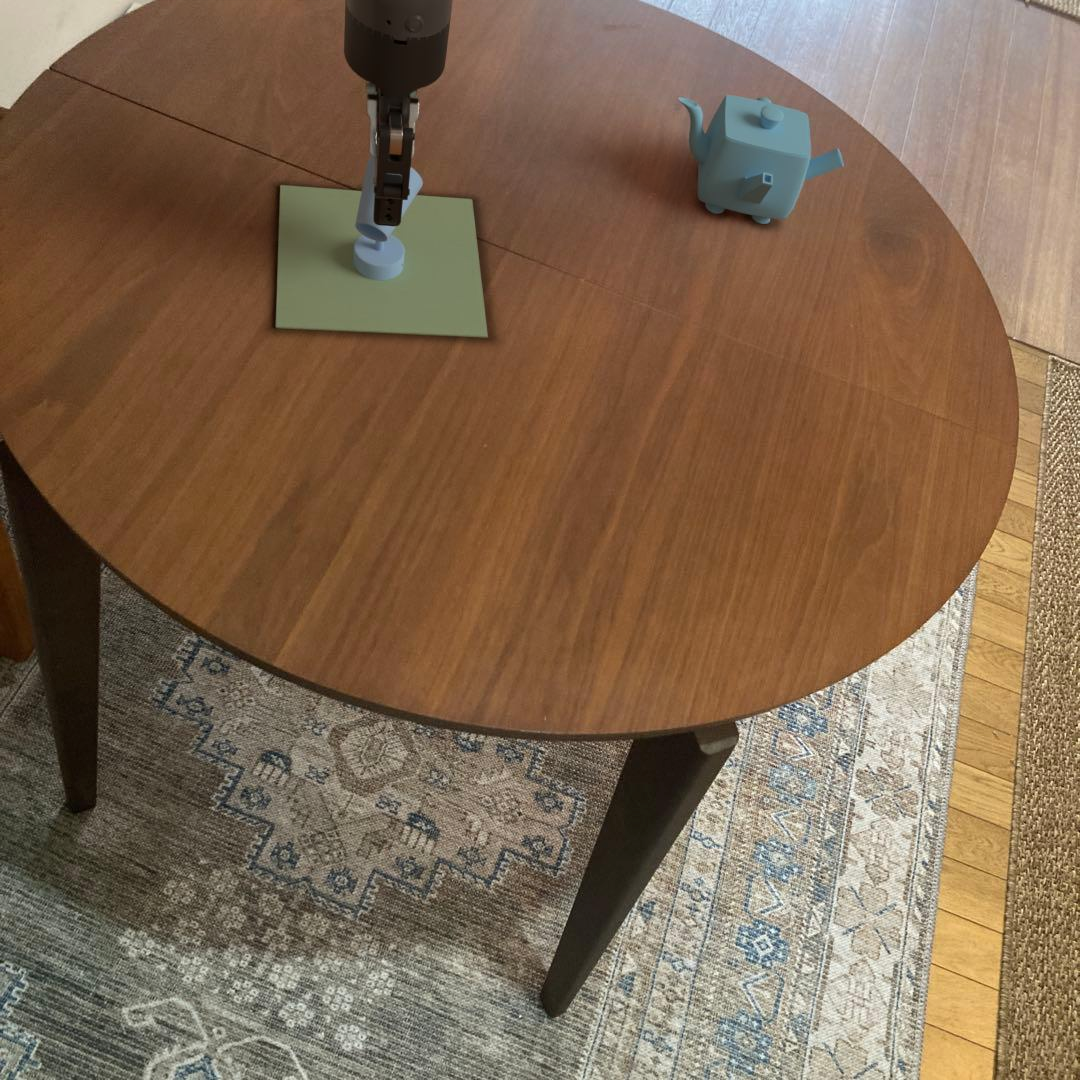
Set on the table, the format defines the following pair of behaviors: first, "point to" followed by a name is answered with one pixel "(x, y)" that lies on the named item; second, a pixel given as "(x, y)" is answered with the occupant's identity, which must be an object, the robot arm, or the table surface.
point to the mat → (378, 305)
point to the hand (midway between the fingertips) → (385, 188)
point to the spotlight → (379, 232)
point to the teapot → (754, 157)
